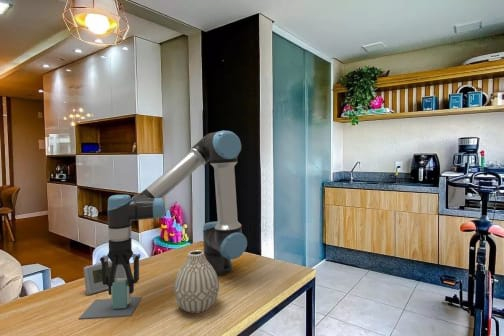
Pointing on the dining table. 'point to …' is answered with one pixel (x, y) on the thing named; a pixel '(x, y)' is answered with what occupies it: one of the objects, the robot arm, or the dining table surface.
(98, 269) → the digital clock
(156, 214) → the robot arm
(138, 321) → the dining table surface
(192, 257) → the vase
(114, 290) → the block
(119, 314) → the mat
